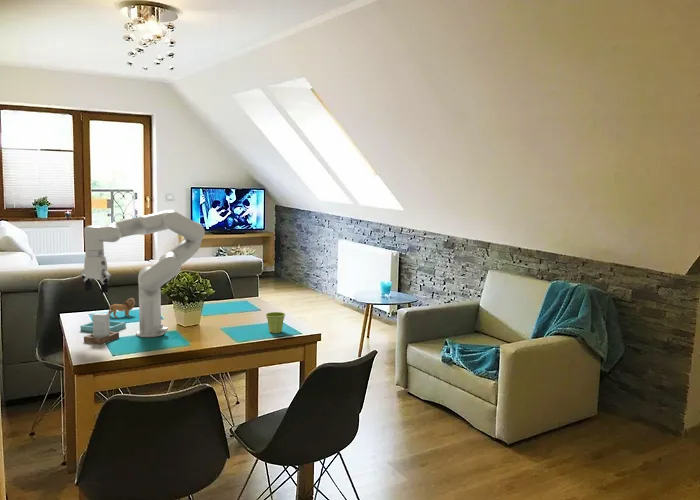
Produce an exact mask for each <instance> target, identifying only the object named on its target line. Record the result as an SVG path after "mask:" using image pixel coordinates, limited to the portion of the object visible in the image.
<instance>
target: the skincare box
mask: <svg viewBox="0 0 700 500" xmlns="http://www.w3.org/2000/svg"><path fill="white" fill-rule="evenodd" d="M110 321H111V320H110V317H109V313H108V312H95V313H94V314H92V322H93V333H92V334H93V337H98V338H103V337H105V336H108V335H110Z"/></svg>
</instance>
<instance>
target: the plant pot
mask: <svg viewBox="0 0 700 500" xmlns="http://www.w3.org/2000/svg"><path fill="white" fill-rule="evenodd" d="M265 316H266V319H267V324H268V331H269V333H270V334H271V333H272V334H279V333H282V332H283V327H284V320H285V317H286V313H285V312H281V311H273V312H271V311H270V312H267V313H265Z"/></svg>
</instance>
